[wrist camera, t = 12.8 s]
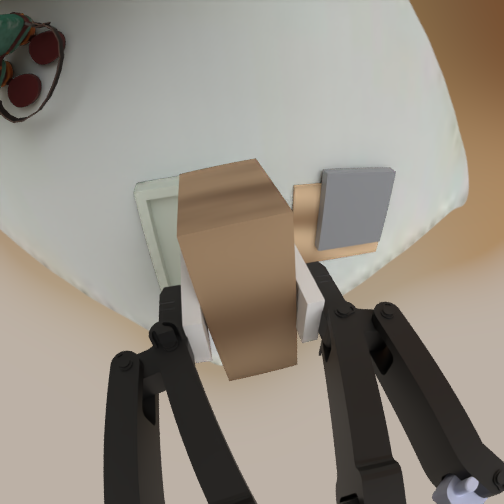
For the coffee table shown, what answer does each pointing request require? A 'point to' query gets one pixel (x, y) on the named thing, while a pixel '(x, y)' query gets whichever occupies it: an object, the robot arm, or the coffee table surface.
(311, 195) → the cork mat
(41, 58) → the binoculars
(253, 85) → the coffee table surface
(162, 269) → the tray
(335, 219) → the grey square tile
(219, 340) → the block
